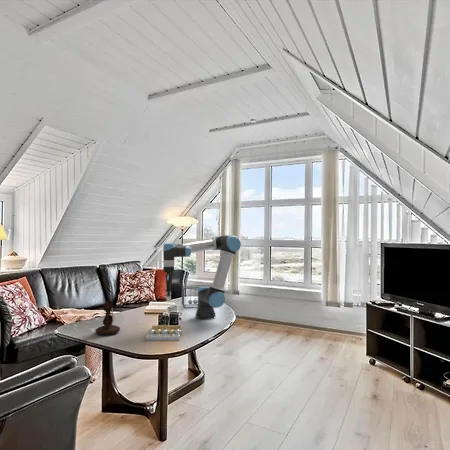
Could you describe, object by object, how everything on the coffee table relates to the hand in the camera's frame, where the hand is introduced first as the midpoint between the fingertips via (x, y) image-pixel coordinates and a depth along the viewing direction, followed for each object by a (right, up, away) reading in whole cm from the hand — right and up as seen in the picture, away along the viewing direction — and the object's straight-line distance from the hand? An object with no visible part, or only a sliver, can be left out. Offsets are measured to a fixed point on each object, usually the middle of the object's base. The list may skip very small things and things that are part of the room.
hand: (168, 300), depth 240 cm
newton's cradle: (+16, -20, +67) cm, 71 cm away
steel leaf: (+1, -18, -23) cm, 29 cm away
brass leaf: (0, -18, -15) cm, 23 cm away
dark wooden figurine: (-37, -18, -14) cm, 43 cm away
